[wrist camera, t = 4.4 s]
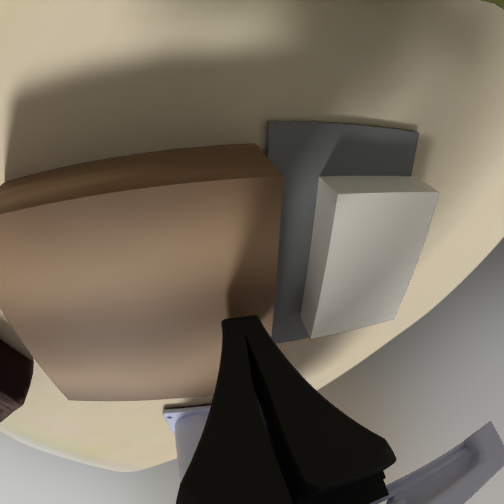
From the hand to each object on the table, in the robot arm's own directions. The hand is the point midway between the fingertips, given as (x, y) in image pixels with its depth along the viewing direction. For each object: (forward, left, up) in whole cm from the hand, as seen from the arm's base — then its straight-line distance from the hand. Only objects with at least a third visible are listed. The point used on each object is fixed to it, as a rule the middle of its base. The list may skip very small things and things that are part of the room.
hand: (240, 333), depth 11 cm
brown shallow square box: (0, +5, -5) cm, 7 cm away
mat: (0, -6, -5) cm, 8 cm away
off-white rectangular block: (0, -7, -2) cm, 8 cm away
